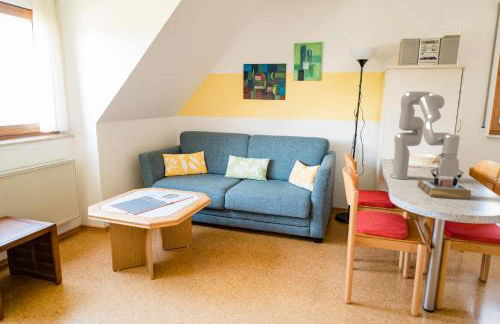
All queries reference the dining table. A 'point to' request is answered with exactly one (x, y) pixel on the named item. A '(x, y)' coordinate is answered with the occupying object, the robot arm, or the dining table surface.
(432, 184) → the grey tray
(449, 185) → the block
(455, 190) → the bay
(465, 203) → the dining table surface
